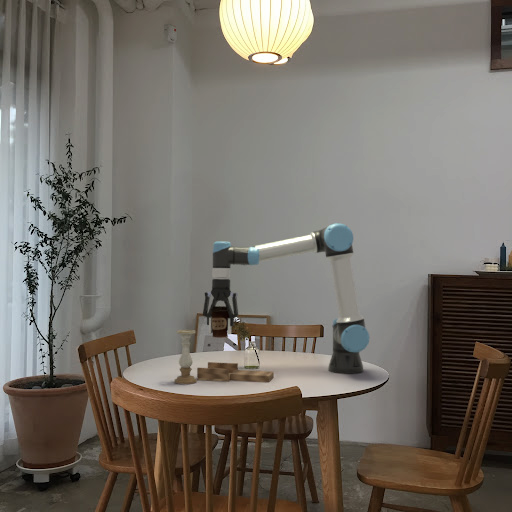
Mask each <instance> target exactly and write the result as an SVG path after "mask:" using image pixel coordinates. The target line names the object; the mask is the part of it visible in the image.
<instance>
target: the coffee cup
mask: <svg viewBox="0 0 512 512" xmlns="http://www.w3.org/2000/svg"><path fill="white" fill-rule="evenodd" d="M228 312H229V311H228V309H227V307H226V305H225V306H224V305H221V306H220V305H217V306H213V308H212V309H211V317H212V332H213V333H212V337H213V338H218V339H221V338H222V339H223V338H224V339H225V338H229V336H228V335H229V334H228V318H230V316H229V313H228Z"/></svg>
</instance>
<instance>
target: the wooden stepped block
mask: <svg viewBox="0 0 512 512" xmlns="http://www.w3.org/2000/svg"><path fill="white" fill-rule="evenodd" d="M238 365H239V363H235V362H216V361H215V362H213V361H212V362H210V361H208V362H207V367H197V370H196V373H197V374H196V379H197V381H211V382H230V381H235V382H237V381H238V382H257V383H261V382H262V383H270V381H272V380H273V379H274V375H275V371H267V370H246V369H245V370H244V369H238V368H239V366H238Z"/></svg>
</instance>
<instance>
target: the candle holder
mask: <svg viewBox="0 0 512 512" xmlns="http://www.w3.org/2000/svg"><path fill="white" fill-rule="evenodd" d="M196 332H197V331H196V330H193V329H179V330H176V332H175V333H176V335H180V338H181V343H180V345H181V346H182V348H181V349H182V351H181V355H180V357H179V360H178V364H179V366H180V368H179V371H180V375H178V376H177V377H176V378H175V379H174V383H175V384H179V385H191V384H195V383H197V381H198V380H197V378H195V376H194V375H191V371H192V370H193V369H192V368H191V367H192V365H193V362H194V361H193V357H192V356H191V354H190V353H191V351H190V345H191V342H190V339H191V337H192V335H194V334H196Z"/></svg>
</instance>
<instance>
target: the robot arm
mask: <svg viewBox="0 0 512 512" xmlns="http://www.w3.org/2000/svg"><path fill="white" fill-rule="evenodd" d="M353 242H354V233H353V231H352V229H351V228H350V227H349V226H347V224H343V223H340V222H338V223H333V224H332V223H331V224H330V225H328V226H326V227H323V228H322V229H319V230H315V231H311V232H310V233H309V234H306V235H302V236H297V237H291V238H287V239H281V240H277V241H272V242H267V243H262V244H257V245H252V246H232V243H231V242H230V241H215V242H213V246H212V271H211V272H212V275H211V277H212V281H211V290H210V291H206V292H204V303H203V311H202V316H203V317H206V326H208V334H213V332H212V317H211V309H212V308H213V306H216V305H217V303H218V302H224V304H225V306H226V307H227V309H228V311H229V312H228V313H229V316H230V318H228V333H227V335H231V334H232V327H234V326H235V318H238V317H239V308H238V299H237V298H238V292H233V291H231V280H230V278H231V265H236V266H237V265H239V266H257V265H259V264H260V263H261V262H267V261H272V260H278V259H283V258H287V257H293V256H297V255H301V254H307V253H311V252H313V253H315V254H318V253H319V254H320V253H324V254H325V258H326V260H328V261H329V262H330V266H331V275H332V282H333V286H334V287H333V288H334V293H335V294H334V295H335V299H336V300H335V301H336V305H337V306H336V307H337V312H338V318H334V319H333V320H332V354H331V357H330V360H329V363H328V371H329V372H332V373H338V374H359V373H363V372H364V364H363V362H362V358H361V355H360V352H362V351H363V350H365V349H366V348H367V347H368V345H369V343H370V334H369V331H368V329H367V328H366V323H365V318H364V317H365V316H363V315H361V313H360V309H359V301H358V296H357V291H356V284H355V277H354V272H353V264H352V259H351V258H352V256H353V255H354V248H353ZM211 296H212V297H213V299H212V302H211V305H210V300H211ZM230 296H231V298H232V299H231V300H232V306H231V304H230V300H229V297H230ZM209 305H210V307H209Z"/></svg>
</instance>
